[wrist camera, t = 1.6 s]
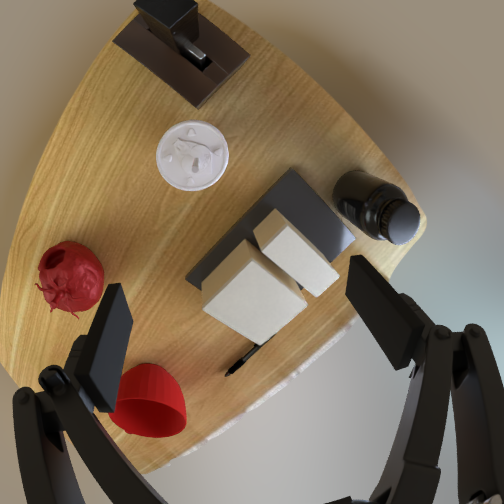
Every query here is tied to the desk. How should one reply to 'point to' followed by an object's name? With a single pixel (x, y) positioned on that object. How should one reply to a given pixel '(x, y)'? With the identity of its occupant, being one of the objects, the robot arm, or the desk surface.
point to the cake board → (295, 211)
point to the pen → (245, 358)
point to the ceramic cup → (149, 403)
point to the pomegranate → (71, 277)
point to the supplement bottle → (376, 207)
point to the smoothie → (192, 155)
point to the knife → (174, 26)
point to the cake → (251, 294)
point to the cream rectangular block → (294, 253)
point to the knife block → (177, 67)
